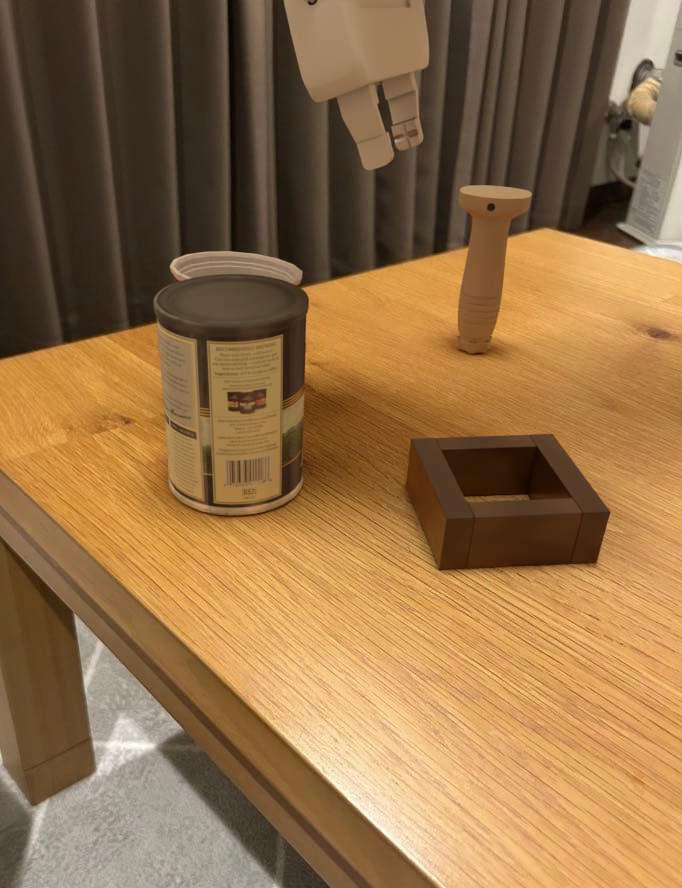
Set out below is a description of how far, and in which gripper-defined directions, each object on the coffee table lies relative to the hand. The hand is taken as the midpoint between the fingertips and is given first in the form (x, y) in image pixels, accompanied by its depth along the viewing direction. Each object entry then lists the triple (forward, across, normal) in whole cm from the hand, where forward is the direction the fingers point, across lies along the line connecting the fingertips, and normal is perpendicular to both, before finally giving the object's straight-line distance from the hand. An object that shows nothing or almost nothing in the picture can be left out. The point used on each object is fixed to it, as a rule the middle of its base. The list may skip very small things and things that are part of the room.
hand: (396, 156), depth 59 cm
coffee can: (+18, -9, +16) cm, 25 cm away
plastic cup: (+15, +4, +20) cm, 25 cm away
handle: (+21, +23, +3) cm, 31 cm away
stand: (+24, -8, -2) cm, 26 cm away
